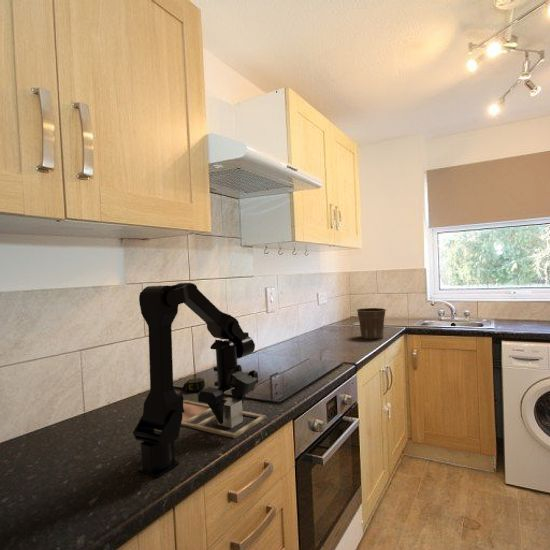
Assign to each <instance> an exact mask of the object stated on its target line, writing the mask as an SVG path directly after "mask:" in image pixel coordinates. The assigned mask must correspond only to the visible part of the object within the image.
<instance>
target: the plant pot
mask: <svg viewBox="0 0 550 550" xmlns="http://www.w3.org/2000/svg"><path fill="white" fill-rule="evenodd" d="M356 311H357V317H358V321H359V322H358V323H359V328H360V338H362V339H365V340H375V339H377V340H379V339H383V338H384V329H385V328H384V327H385V316H386V311H387V310H386V308H379V307H367V308H357V309H356Z"/></svg>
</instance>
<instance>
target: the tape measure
mask: <svg viewBox="0 0 550 550" xmlns="http://www.w3.org/2000/svg"><path fill="white" fill-rule="evenodd" d="M205 383H206V382H205V378H203V377H195V378H191V379H189V380H187V381H186V382H185V383H184V384H183V386H182V389H183V391H185V392H196V391H201V390H203V389H205V385H206V384H205Z"/></svg>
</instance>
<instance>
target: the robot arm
mask: <svg viewBox="0 0 550 550" xmlns="http://www.w3.org/2000/svg"><path fill="white" fill-rule="evenodd" d="M138 303H139V307H140V313H141V316H142V318H143V319H144V321H145V322H146V325H147V328H148V351H149V354H148V355H149V356H148V357H149V385H150V386H149V388H150V389H149V392H148V394H147V396H146V398H145V400H144V402H143V410H142V415H141V418H140V419H139V421H138V422H137V425H136V426H135V428H134V430H133V432H132V435H133V438H134V439H135V441H141V443H140V455H141V465H139V466H138V467H137V471H138V472H140V473H143V474H146V475H149V476H152V477H154V478H158V477H161V476H162V475H163V474H165V473H167V472H169V470H172V469H173V468H175V467H177V466H178V465H180V461H179V460H177V459H176V448H175V446H176V445H175V441H176V440H178V439H179V438H180V437H179V436H180V432H181V426H182V425H181V422H182V416H183V414H182V413H184V412H185V411H184V409H183V400H185V399H184V395H183V394H181V393H177V392H176V390H175V388H174V367H173V366H174V365H173V337H172V336H173V333H172V324H173V323H174V320H175V318H176V316H177V315H178V311H179V305H182V304H184V305H185V306H186V307H188V308H189V310H191V311H192V312H194V314H195V315H197V316H198V317H199V318H200V320H202V321H203V322H204V323H205V324H206V329H207V331H208V333H210V335H211V336H212V337H213V338H215V340H214V342H213V343H212V344H211V345H210V349H211V350H215V357H216V358H215V359H216V360H215V361H216V366H214V367H213V372H216V376H217V380H216V381H214V387H210V386H209V387H206V388H203V389H201V390H199V392H198V393H197V402H198V403H203V404H208V405H209V407H210V408H211V410H212V413H213V415H215V417H216V420H218V421H217V423H218V422H219V423H220V424H223V405H224V404H225V402H226V401H227V400H224V399H225V394H226V393H228V392H230V391H231V392H230V393H231V396H232V398H233V399H238V400H242V406H244V401H245V398H246V395H248V394H249V393H251V392H253V391H254V390H255V386H256V385H257V384H258V383H259V373H258V371H257V370H255V369H253V370H250V371H249V372H248V371H246V372H244V371H243V369H242V366H241V364H238V359H241V358H244V357H246V356H249V355H251V354H253V353H254V351H255V349H256V344H255V341H254V339H253V338H252V337H251V336H249V332H244V331H243V329H242V327H241V325H240V323H239V321H238V319H237V318H236V317H234V316H232V315H231V314H229V313H226V312H223V311H221V310H220V309H219V308H218V307H217V306H215V305H214V303H212V301H210V300H209V298H207V296H205V295H204V293H203V292H201V291H200V289H198V286H197V284H195V283H193V282H179V283H177V284H173V285H168V284H167V285H150V286H149V285H148V286H146V287H144V288H143V289H142V290H141V292H140V293H139V296H138ZM216 387H217V388H216Z"/></svg>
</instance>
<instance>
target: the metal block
mask: <svg viewBox="0 0 550 550" xmlns="http://www.w3.org/2000/svg"><path fill="white" fill-rule="evenodd" d="M223 400H227V401H226V402H225V404H224V405H223V424H220V423H219V422H218V420H217V419H216V420H217V425H218V426H222V427H225V428H231V429H232V428H234V427H236V426H238V425H240V423H243V422H244V417H243V416H244V415H243V405H242V400H238V399H233V397H232V398H231V397H227V398H224V399H223Z"/></svg>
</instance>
